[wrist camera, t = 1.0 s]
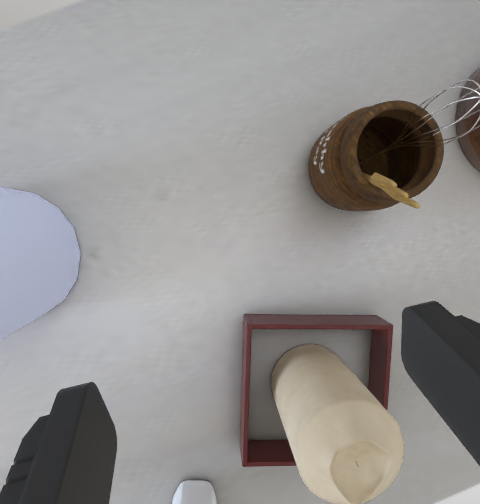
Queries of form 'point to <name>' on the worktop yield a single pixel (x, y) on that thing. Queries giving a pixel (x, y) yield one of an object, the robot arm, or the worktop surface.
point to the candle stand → (470, 121)
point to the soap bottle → (33, 258)
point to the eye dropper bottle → (195, 493)
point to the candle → (335, 427)
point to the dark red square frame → (381, 329)
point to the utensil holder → (380, 155)
